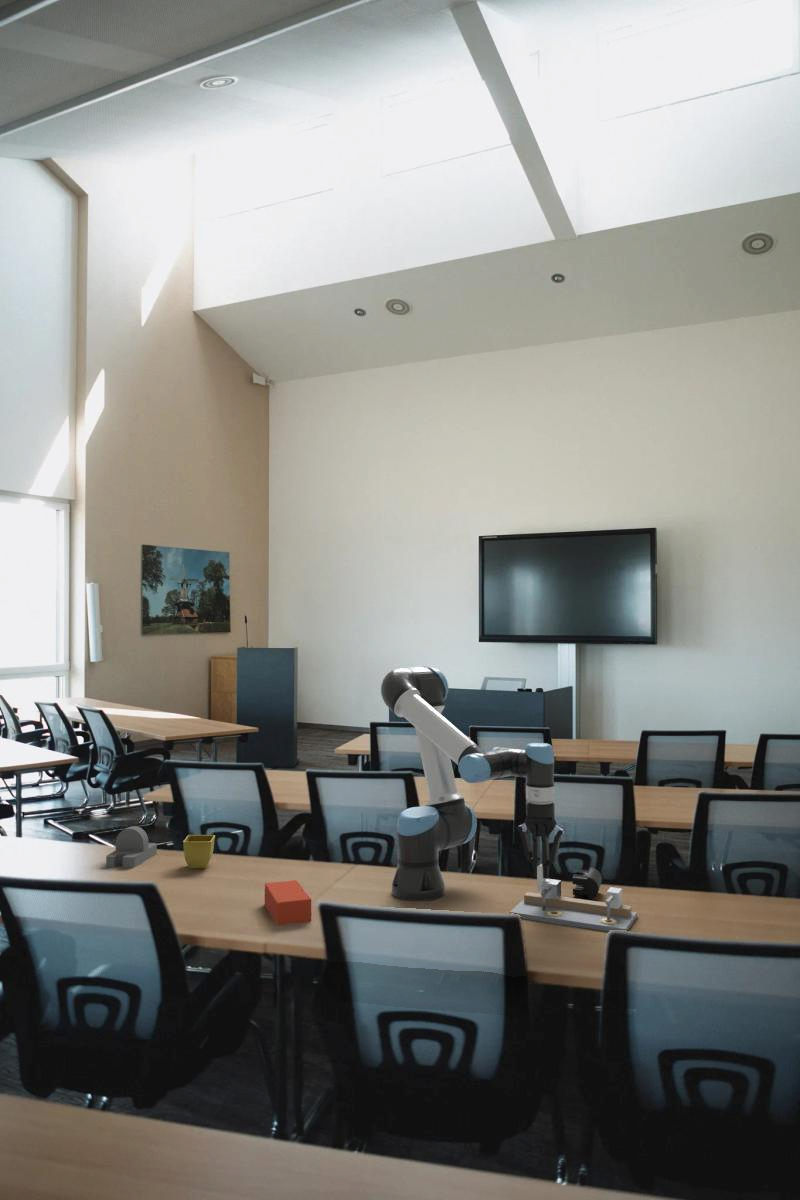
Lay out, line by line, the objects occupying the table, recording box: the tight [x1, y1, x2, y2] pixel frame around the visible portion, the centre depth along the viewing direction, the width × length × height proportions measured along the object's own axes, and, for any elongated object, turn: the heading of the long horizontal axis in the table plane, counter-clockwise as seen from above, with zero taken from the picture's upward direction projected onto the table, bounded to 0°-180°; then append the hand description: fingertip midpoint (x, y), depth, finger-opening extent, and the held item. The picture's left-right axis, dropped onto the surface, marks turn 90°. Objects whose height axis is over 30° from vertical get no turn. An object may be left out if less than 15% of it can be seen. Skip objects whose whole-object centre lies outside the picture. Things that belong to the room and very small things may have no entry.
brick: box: [264, 879, 312, 926], centre depth 234 cm, size 18×9×6 cm, turn 19°
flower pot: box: [182, 834, 216, 869], centre depth 278 cm, size 9×9×9 cm
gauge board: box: [509, 886, 638, 932], centre depth 230 cm, size 30×14×7 cm, turn 64°
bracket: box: [105, 825, 158, 869], centre depth 287 cm, size 10×18×11 cm, turn 171°
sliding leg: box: [540, 878, 562, 911], centre depth 233 cm, size 4×10×6 cm, turn 154°
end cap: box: [572, 867, 603, 901], centre depth 247 cm, size 10×7×7 cm
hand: (541, 889), depth 237 cm, fingers closed
